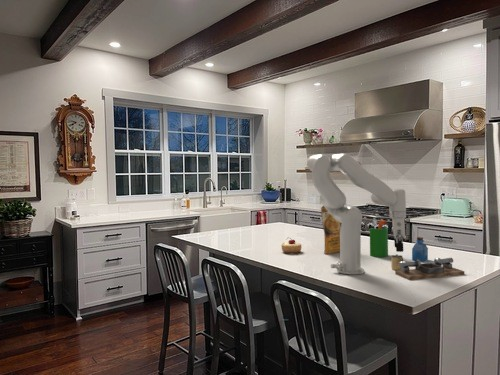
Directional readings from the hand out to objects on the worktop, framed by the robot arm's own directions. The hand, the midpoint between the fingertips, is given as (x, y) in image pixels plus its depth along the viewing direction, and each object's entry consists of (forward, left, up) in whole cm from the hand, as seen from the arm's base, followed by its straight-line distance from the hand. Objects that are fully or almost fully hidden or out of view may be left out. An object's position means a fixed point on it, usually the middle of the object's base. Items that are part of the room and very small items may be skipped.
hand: (398, 249), depth 188 cm
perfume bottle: (+21, +12, -10) cm, 26 cm away
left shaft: (-2, -11, -9) cm, 15 cm away
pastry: (-37, +52, -10) cm, 64 cm away
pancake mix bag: (-14, +45, -10) cm, 48 cm away
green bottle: (+7, +28, -10) cm, 31 cm away
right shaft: (+16, -11, -10) cm, 22 cm away
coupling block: (-1, 0, -10) cm, 10 cm away
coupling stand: (+7, -13, -10) cm, 18 cm away
